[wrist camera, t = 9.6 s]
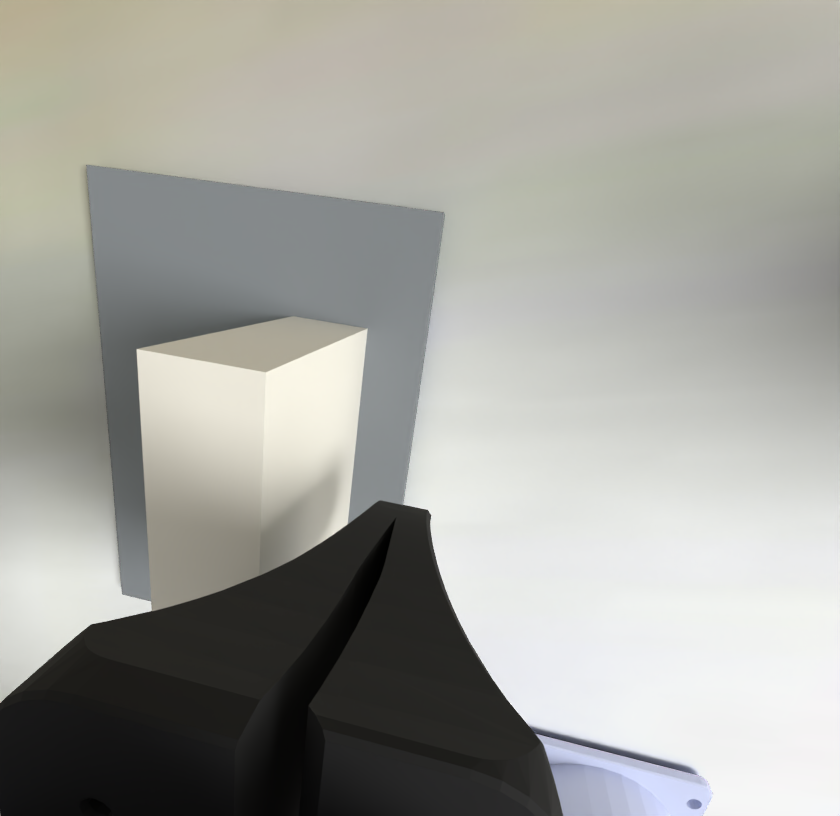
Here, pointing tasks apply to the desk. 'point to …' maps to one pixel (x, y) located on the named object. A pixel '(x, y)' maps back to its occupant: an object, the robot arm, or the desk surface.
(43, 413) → the desk surface
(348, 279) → the mat
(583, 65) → the desk surface
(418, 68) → the desk surface
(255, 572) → the block
